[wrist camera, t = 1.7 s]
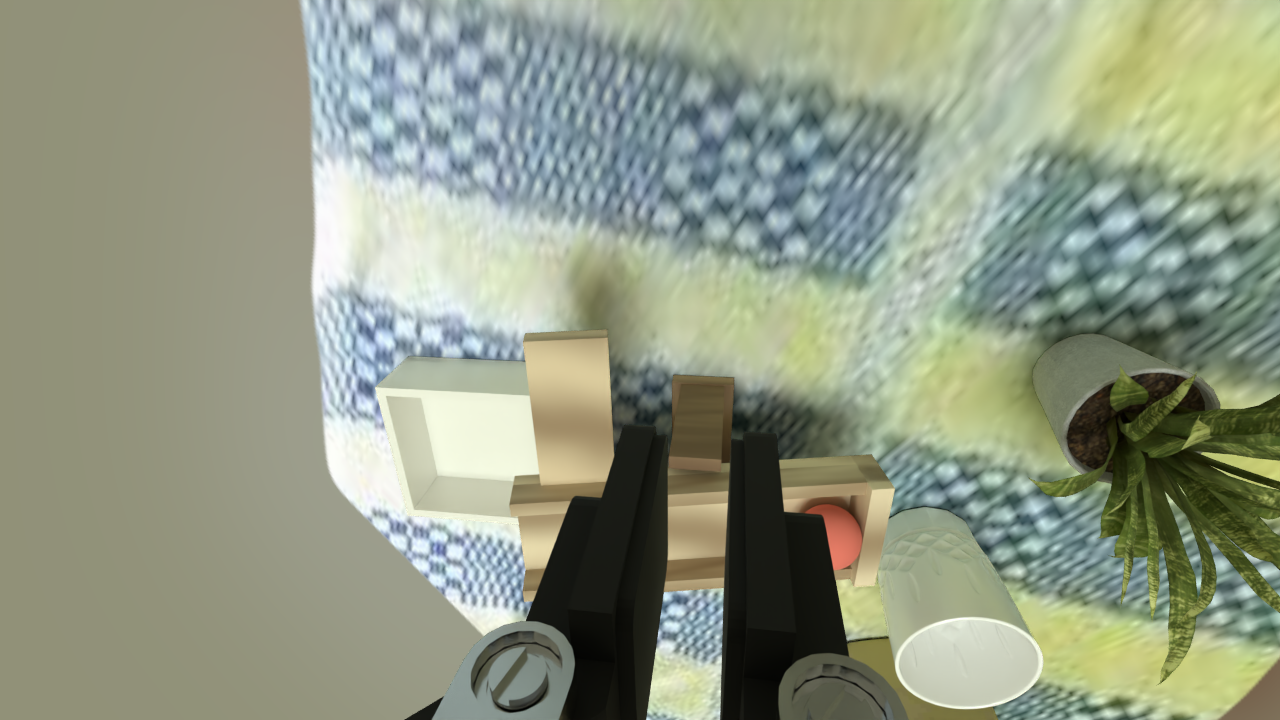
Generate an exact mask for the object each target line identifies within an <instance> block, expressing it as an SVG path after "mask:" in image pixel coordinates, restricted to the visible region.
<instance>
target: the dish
mask: <svg viewBox="0 0 1280 720" xmlns="http://www.w3.org/2000/svg"><path fill="white" fill-rule="evenodd" d="M375 389H376V393H377V397H378V401H379V405H380V409H381V413H382V417H383V420H384V424H385V428H386V432H387V436H388V440H389V444H390V448H391V452H392V456H393V460H394V464H395V468H396V471H397V475H398V479H399V483H400V487H401V491H402V495H403V499H404V503H405V507H406V511H407V515H409V516H421V517H432V518H444V519H456V520H468V521H480V522H491V523H503V524H515V525H519V522H518V516H516V517H511V513H510V507H509V503H510V498H511V493H512V488H513V482H514V477H515V476H520V475H536V474H539V467H538V459H537V451H536V443H535V435H534V427H533V419H532V411H531V402H530V394H529V386H528V378H527V370H526V362H524V361H502V360H480V359H458V358H436V357H414V356H408V357H407V358H406V359H405V360H404V361H403V362H402V363H401V364H400V365H399V366H398V367H397V368H395V369H394V370H393V371H392V372H391V373H390V374H389V375H388V376H387V377H386V378H385V379H384V380H383V381H381V382H380V383H379V384H378V385H377V386H376V387H375Z"/></svg>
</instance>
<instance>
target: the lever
mask: <svg viewBox="0 0 1280 720" xmlns="http://www.w3.org/2000/svg"><path fill="white" fill-rule="evenodd" d="M523 346H524V354H525V362H526V370H527V378H528V386H529V394H530V402H531V411H532V419H533V427H534V435H535V443H536V451H537V459H538V467H539V474H536V475H520V476H515V477H514V482H513V488H512V493H511V498H510V503H509V507H510V513H511V517H516V516H518V522H519V528H520V535H521V542H522V549H523V555H524V562H525V569H526V571H525V579H524V586H523V596H524V602H527V601H533V600H534V598H535V595H536V592H537V590H538V587H539V584H540V582H541V579H542V576H543V573H544V571H545V568H546V565H547V563H548V560H549V557H550V555H551V552H552V549H553V547H554V544H555V541H556V539H557V536H558V533H559V531H560V528H561V525H562V523H563V520H564V517H565V515H566V512H567V509H568V507H569V504H570V502H571V500H572V498H573V497H574V496H586V497H599V498H601V497H602V494H603V491H604V488H605V484H606V481H607V478H608V475H609V471H610V468H611V465H612V462H613V458H614V444H613V425H612V406H611V387H610V369H609V350H608V331H607V329H603V330H583V331H562V332H542V333H525V336H524V340H523ZM779 464H780V474H781V484H782V494H783V504H784V512H795V513H805V512H806V511H807V510H809V509H811V508H812V507H815V506H818V505H824V504H830V505H835V506H838V507H841V508H843V509H844V510H846V511H847V512H849V513H850V514H851V515H852V516H853V517H854V518H855V520H856V521H857V523H858V525H859V527H860V530H861V533H862V547H861V551H860V553H859V555H858V557H857V558H856V560H855V561H854V562H853V563H852V564H850V565H849V566H847V567H845V568H843V569H840V570H834V575H835V580H843V579H850V580H851V582H852V584H853V586H854V587H862V586H875V582H876V577H877V572H878V567H879V562H880V558H881V553H882V548H883V543H884V538H885V534H886V529H887V524H888V519H889V514H890V510H891V505H892V500H893V495H894V491H895V488H894V486H893V485H892V483H891V482H890V480H889V479H888V478H887V476H886V475H885V473H884V472H883V470H882V469H881V467H880V466H879V465H878V463H877V462H876V460H875V459H874V457H873V456H872V454H871V455H854V456H837V457H820V458H804V459H787V460H779ZM729 471H730V463H721V472H715V471H700V470H686V469H671V468H669V467H668V562H667V572H666V579H665V587H664V592H670V591H685V590H699V589H713V588H724V568H725V547H726V528H727V509H728V490H729Z"/></svg>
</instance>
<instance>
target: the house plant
mask: <svg viewBox="0 0 1280 720" xmlns="http://www.w3.org/2000/svg"><path fill="white" fill-rule="evenodd" d="M1196 372H1197V371H1196ZM1033 385H1034V389H1035V392H1036V394H1037V397H1038V399H1039V401H1040V403H1041V405H1042V407H1043V409H1044V412H1045V414H1046V416H1047V418H1048V420H1049V423H1050V425H1051V427H1052V429H1053V432H1054V434H1055V436H1056V438H1057V441H1058V443H1059V445H1060V447H1061V449H1062V452H1063V453H1064V455H1065V457H1066V459H1067V460H1068V462H1069V464H1070V465H1071V466H1072V467H1074V468H1075V469H1076V470H1077V471H1078V472H1079V473H1081V474H1082V475H1079V476H1075V477H1071V478H1067V479H1063V480H1058V481H1054V482H1036V481H1034V480H1032V479H1030V478H1029V479H1030V480H1031V481H1033V482H1034V483H1035V484H1036V485H1037V486H1038V487H1039V488H1040V489H1041V490H1042V491H1043V492H1044V493H1045V494H1046V495H1050V496H1054V497H1066V496H1070V495H1073V494H1076V493H1078V492H1080V491H1082V490H1084V489H1085V488H1087V487H1089V486H1090V485H1092V484H1094V483H1095V482H1096V481H1100V482H1106V483H1111V484H1112V486H1111V491H1110V494H1109V497H1108V500H1107V502H1106V505H1105V507H1104V510H1103V513H1102V516H1101V535H1100V537H1099V538H1105V537H1110V536H1116V535H1120V536H1119V538H1118V540H1117V542H1116V544H1115V550H1114V552H1115V556H1111V557H1116V558H1125V561H1124V576H1123V584H1122V596H1121V604H1122V601H1123V598H1124V596H1125V593H1126V589H1127V585H1128V582H1129V579H1130V574H1131V571H1132V566H1133V557H1146V556H1148V559H1147V574H1148V584H1149V595H1150V608H1151V619H1152V618H1153V614H1154V611H1155V608H1156V600H1157V593H1158V590H1159V581H1160V579H1159V550H1161V549H1162V547H1163V550H1164V555H1165V561H1166V566H1167V573H1168V580H1169V594H1170V610H1169V623H1168V631H1169V653H1168V656H1167V658H1166V661H1165V663H1164V665H1163V667H1162V670H1161V680H1160V683H1162V682H1163V681H1164V680H1166V678H1167V677H1168V676H1169V675H1170V674H1171V673H1172V672H1173V671H1174V670H1175V669H1176V668H1177V667H1178V666H1179V665H1180V663H1181V662H1182V660H1183V659H1184V657H1185V655H1186V653H1187V652H1188V650H1189V648H1190V646H1191V642H1192V639H1193V635H1194V632H1195V624H1196V616H1197V615H1198V614H1199V613H1200V612H1202V611H1203V610H1204V609H1205V608H1206V607H1207V606H1208V605H1209V604H1210V603H1211V601H1212V598H1213V596H1214V593H1215V591H1216V579H1217V576H1216V568H1215V563H1214V559H1213V556H1212V553H1211V549H1210V547H1209V545H1208V543H1207V541H1206V539H1205V537H1204V535H1203V533H1202V531H1203V532H1204V533H1205V534H1206V535H1207V536H1208V537H1209V538H1210V540H1211V541H1212V542H1213V543H1214V544H1215V545H1216V546H1217V548H1218V549H1219V550H1220V551H1221V552H1222V553H1223V555H1224V556H1225V557H1226V558H1227V559H1228V560H1229V562H1230V563H1231V564H1232V565H1233V566H1234V568H1235V569H1236V570H1237V571H1238V573H1239V574H1240V575H1241V576H1242V577H1243V579H1244V580H1245V581H1246V582H1247V583H1248V585H1249V586H1250V587H1251V588H1252V589H1253V591H1254V592H1255V593H1256V594H1257V595H1258V596H1259V597H1260V598H1261V599H1262V600H1264V601H1265V602H1266V603H1267V604H1269V605H1270V606H1271V607H1273V608H1274V609H1275V610H1277V611H1278V612H1279V613H1280V597H1279V595H1278V594H1277V593H1276V592H1275V591H1274V589H1273V588H1272V587H1271V586H1270V585H1269V584H1268V583H1267V581H1266V580H1265V579H1264V578H1263V577H1262V576H1261V574H1260V573H1259V572H1258V571H1257V569H1256V568H1255V567H1254V566H1253V565H1252V563H1251V562H1250V561H1249V560H1248V559H1247V557H1246V556H1245V555H1244V554H1243V553H1242V551H1241V550H1240V549H1239V548H1238V547H1240V548H1241V549H1243V550H1244V551H1245V552H1247V553H1248V554H1250V555H1251V556H1253V557H1255V558H1258V559H1260V560H1264V561H1268V562H1272V563H1273V564H1274V565H1275V566H1276V567H1277V568H1278V569H1279V570H1280V536H1278V535H1277V534H1275V533H1274V532H1273V531H1272V530H1271V529H1270V528H1269V527H1268V526H1267V525H1266V524H1265V522H1264V521H1263V520H1262V519H1261V518H1265V519H1276V518H1278V517H1280V482H1279V481H1276V480H1272V479H1269V478H1266V477H1263V476H1260V475H1257V474H1254V473H1251V472H1248V471H1245V470H1242V469H1239V468H1236V467H1234V466H1231V465H1228V464H1225V463H1222V462H1219V461H1216V460H1214V459H1211V458H1209V457H1206V456H1204V455H1201V453H1202V452H1210V453H1221V454H1232V455H1239V456H1245V457H1252V458H1259V459H1269V460H1279V461H1280V394H1279V395H1277V396H1276V397H1274V398H1272V399H1270V400H1269V401H1267V402H1265V403H1263V404H1261V405H1259V406H1254V407H1250V408H1245V409H1220V402H1219V400H1218V398H1217V396H1216V394H1215V392H1214V390H1213V389H1212V388H1211V387H1210V386H1209V385H1208V384H1207V383H1206V382H1205V381H1204V380H1203V379H1202V378H1199V377H1197V376H1196V374H1195V375H1193V374H1191V373H1189V372H1186V371H1184V370H1182V369H1180V368H1177V367H1175V366H1173V365H1171V364H1168V363H1166V362H1164V361H1162V360H1159V359H1157V358H1155V357H1153V356H1150V355H1148V354H1146V353H1144V352H1141V351H1139V350H1137V349H1135V348H1132V347H1130V346H1128V345H1126V344H1123V343H1121V342H1119V341H1116V340H1114V339H1112V338H1110V337H1107V336H1105V335H1099V334H1080V335H1076V336H1072V337H1068V338H1066V339H1064V340H1062V341H1060V342H1058V343H1056V344H1054V345H1053V346H1052V347H1050V348H1049V349H1048V350H1046V351H1045V352H1044V353H1043V355H1042V356H1041V357H1040V358H1039V359H1038V361H1037V363H1036V365H1035V367H1034V369H1033ZM1211 466H1213V467H1215V468H1218V469H1220V470H1223V471H1225V472H1228V473H1231V474H1234V475H1236V476H1239V477H1242V478H1245V479H1248V480H1251V481H1254V482H1257V483H1260V484H1264V485H1267V486H1270V487H1273V488H1276V489H1279V490H1276V489H1271V488H1266V487H1261V486H1258V485H1255V484H1252V483H1249V482H1246V481H1242V480H1239V479H1236V478H1233V477H1230V476H1228V475H1226V474H1224V473H1222V472H1221V471H1219V470H1217V469H1215V468H1213V467H1211ZM1177 483H1178V484H1179V485H1178V484H1177ZM1179 486H1180V487H1181V488H1182V490H1183V491H1184V493H1185V494H1186V496H1187V497H1186V496H1185V495H1184V494H1183V492H1182V491H1181V489H1180V487H1179ZM1165 492H1166V493H1167V494H1168V495H1169V497H1170V498H1171V499H1172V500H1173V501H1174V502H1175V504H1176V505H1177V506H1178V507H1179V508H1180V509H1181V510H1182V511H1183V512H1184V513H1185V514H1186V516H1187V518H1188V520H1189V522H1190V525H1191V527H1192V530H1193V533H1194V535H1195V538H1196V542H1197V545H1198V548H1199V551H1200V557H1201V562H1202V582H1201V589H1200V595H1199V598H1198V596H1197V587H1196V577H1195V574H1194V571H1193V569H1192V566H1191V564H1190V561H1189V559H1188V556H1187V554H1186V551H1185V548H1184V545H1183V541H1182V538H1181V535H1180V532H1179V529H1178V526H1177V523H1176V521H1175V518H1174V515H1173V513H1172V510H1171V508H1170V505H1169V503H1168V500H1167V497H1166V494H1165ZM1260 517H1261V518H1260ZM1219 529H1220V530H1221V531H1222V532H1223V533H1224V534H1225V535H1226V536H1227V537H1228V538H1229V539H1230V540H1232V541H1233V542H1234V543H1235V544H1236V545H1237V546H1238V547H1237V546H1235V545H1234V544H1233V543H1232V542H1231V541H1230V540H1229V539H1228V538H1227V537H1226V536H1225V535H1224V534H1223V533H1222V532H1221V531H1220V530H1219ZM1109 556H1110V555H1109ZM1197 598H1198V600H1197ZM1160 683H1159V684H1160ZM1159 684H1158V685H1159Z"/></svg>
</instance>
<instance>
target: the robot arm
mask: <svg viewBox="0 0 1280 720" xmlns="http://www.w3.org/2000/svg"><path fill="white" fill-rule="evenodd" d="M667 562H668V440H667V435H656V427H655V426H643V425H626V424H625V425H624V426H623V429H622V432H621V436H620V439H619V442H618V445H617V449H616V452H615V455H614V458H613V462H612V465H611V468H610V471H609V475H608V478H607V481H606V484H605V488H604V491H603V494H602V497H601V498H599V497H586V496H574V497H573V498H572V500H571V502H570V504H569V507H568V509H567V512H566V515H565V517H564V520H563V523H562V525H561V528H560V531H559V533H558V536H557V539H556V541H555V544H554V547H553V549H552V552H551V555H550V557H549V560H548V563H547V565H546V568H545V571H544V573H543V576H542V579H541V582H540V584H539V587H538V590H537V592H536V595H535V598H534V600H533V603H532V606H531V608H530V611H529V614H528V616H527V619H526V621H520V622H515V623H511V624H507V625H503V626H501V627H499V628H497V629H495V630H493V631H491V632H489V633H488V634H486V635H485V636H484V637H483V638H482V639H481V640H479V641H478V642H477V643H476V644H475V645H474V646H473V647H472V649H471V650H470V652H469V653H468V654H467V656H466V657H465V658H464V660H463V662H462V664H461V666H460V667H459V669H458V671H457V673H456V675H455V677H454V679H453V681H452V683H451V684H450V687H449V688H448V690H447V692H446V694H445V696H444V697H442V698H440V699H439V700H437V701H435V702H434V703H432V704H430V705H429V706H427V707H425V708H424V709H422V710H420V711H418V712H417V713H415V714H413V715H412V716H410V717H408V718H407V719H405V720H646V717H647V709H648V702H649V695H650V688H651V680H652V673H653V666H654V659H655V652H656V644H657V637H658V630H659V623H660V615H661V608H662V601H663V594H664V587H665V579H666V572H667ZM720 720H909V719H908V716H907V713H906V710H905V708H904V706H903V704H902V702H901V700H900V698H899V696H898V694H897V693H896V691H895V690H894V689H893V688H892V687H891V686H890V684H889V683H888V682H887V681H886V680H885V678H884V677H883V676H881V675H880V674H879V673H877V672H876V671H874V670H873V669H872V668H870V667H869V666H868V665H866V664H864V663H862V662H860V661H857V660H855V659H853V658H850V657H849V651H848V646H847V640H846V635H845V630H844V624H843V619H842V613H841V608H840V602H839V597H838V591H837V586H836V580H835V575H834V569H833V564H832V558H831V553H830V547H829V542H828V537H827V531H826V526H825V521H824V518H823V516H822V515H821V514H808V513H795V512H784V504H783V494H782V484H781V474H780V464H779V454H778V444H777V435H776V433H761V432H744V436H743V440H738V439H731V452H730V471H729V490H728V509H727V528H726V547H725V568H724V603H723V639H722V675H721V712H720Z"/></svg>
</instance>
